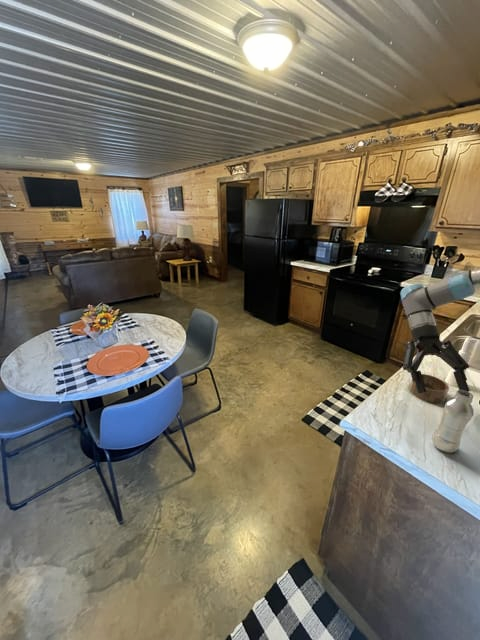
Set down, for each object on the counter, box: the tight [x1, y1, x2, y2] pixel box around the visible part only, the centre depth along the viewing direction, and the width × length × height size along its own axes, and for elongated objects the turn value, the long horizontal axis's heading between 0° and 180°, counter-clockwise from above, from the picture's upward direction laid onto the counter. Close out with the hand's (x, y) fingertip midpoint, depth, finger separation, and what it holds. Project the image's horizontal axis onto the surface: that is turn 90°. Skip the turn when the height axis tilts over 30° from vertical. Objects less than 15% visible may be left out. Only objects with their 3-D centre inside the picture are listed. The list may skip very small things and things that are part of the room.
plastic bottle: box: [431, 389, 475, 454], centre depth 77 cm, size 6×7×20 cm
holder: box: [409, 373, 450, 404], centre depth 102 cm, size 12×12×6 cm
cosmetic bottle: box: [444, 336, 475, 388], centre depth 106 cm, size 6×6×22 cm
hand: (443, 392), depth 80 cm, fingers open, 13 cm apart
